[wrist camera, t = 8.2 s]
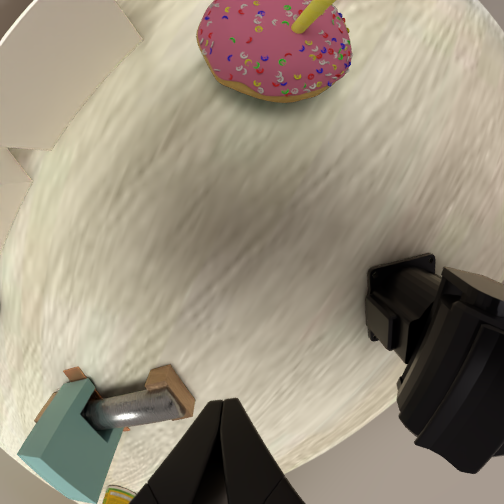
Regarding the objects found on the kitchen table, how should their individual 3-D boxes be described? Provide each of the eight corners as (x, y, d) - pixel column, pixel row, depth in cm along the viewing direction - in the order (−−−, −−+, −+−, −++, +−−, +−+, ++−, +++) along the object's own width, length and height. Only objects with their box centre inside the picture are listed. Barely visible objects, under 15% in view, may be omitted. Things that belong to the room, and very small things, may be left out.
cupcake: (349, 76, 17) (448, -1, 5) (264, 144, 18) (308, 86, 6) (269, 2, 15) (294, -109, 3) (180, 62, 16) (125, -46, 4)
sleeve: (88, 378, 21) (40, 458, 11) (125, 423, 23) (96, 504, 13) (63, 383, 22) (16, 454, 11) (99, 426, 23) (68, 498, 13)
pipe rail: (156, 342, 21) (138, 380, 16) (207, 415, 23) (203, 455, 18) (41, 376, 22) (19, 403, 17) (89, 433, 24) (75, 462, 19)
